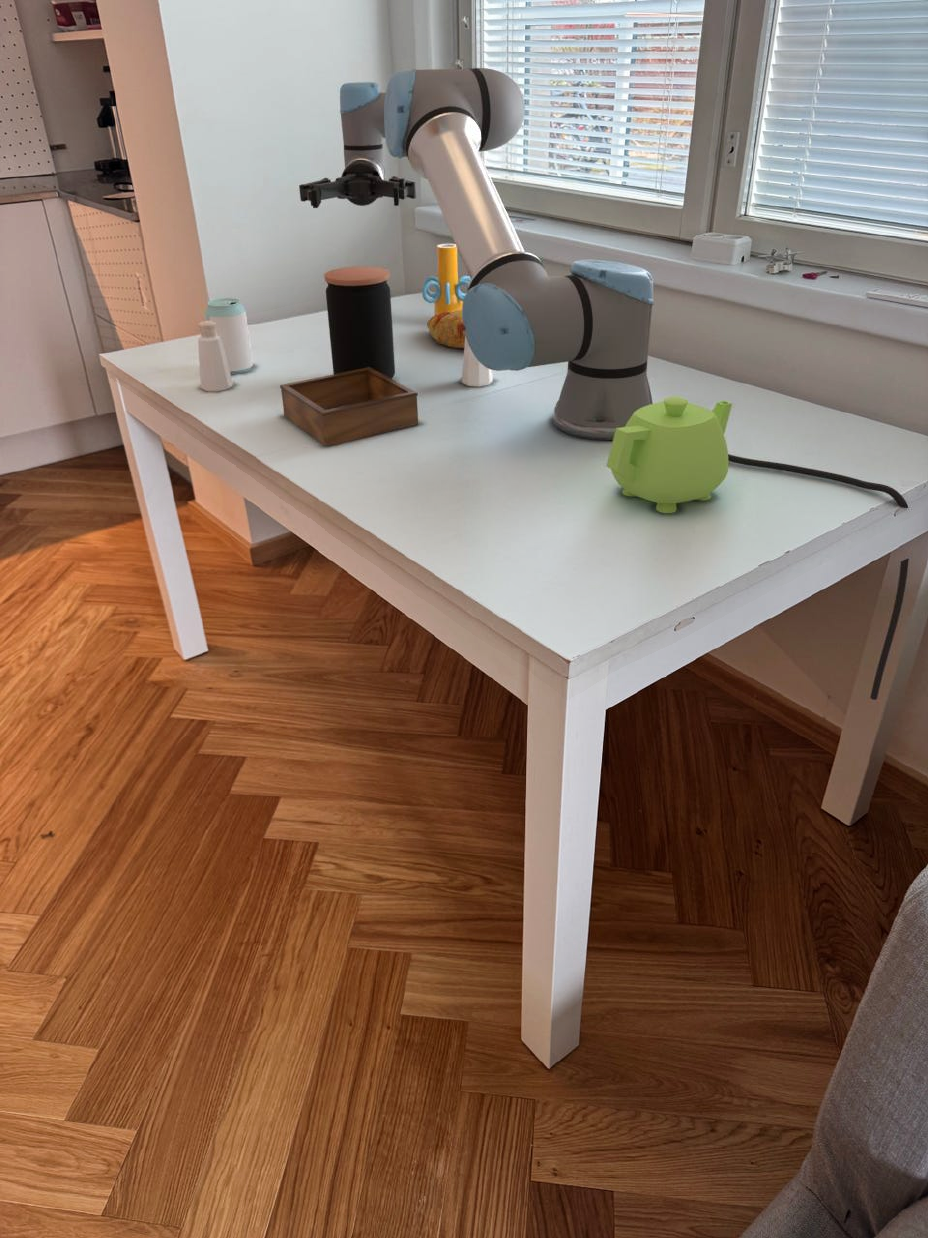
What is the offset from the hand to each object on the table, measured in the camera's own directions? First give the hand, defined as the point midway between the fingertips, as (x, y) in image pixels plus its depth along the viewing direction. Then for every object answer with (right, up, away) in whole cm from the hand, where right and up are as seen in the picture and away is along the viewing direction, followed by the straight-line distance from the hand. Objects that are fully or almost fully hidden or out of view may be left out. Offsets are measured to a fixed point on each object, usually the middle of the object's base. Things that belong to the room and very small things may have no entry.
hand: (355, 197), depth 157 cm
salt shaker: (-24, -30, +5) cm, 39 cm away
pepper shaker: (+20, -30, +5) cm, 36 cm away
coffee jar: (+1, -29, +7) cm, 30 cm away
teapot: (+44, -54, -36) cm, 79 cm away
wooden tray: (0, -39, -10) cm, 41 cm away
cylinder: (+15, -8, +39) cm, 43 cm away
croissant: (+18, -17, +26) cm, 36 cm away
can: (-24, -25, +14) cm, 37 cm away
